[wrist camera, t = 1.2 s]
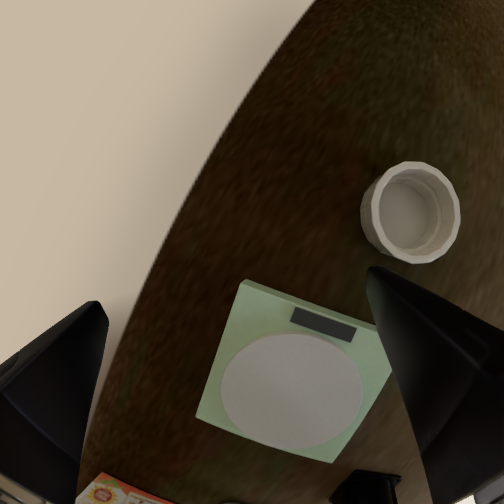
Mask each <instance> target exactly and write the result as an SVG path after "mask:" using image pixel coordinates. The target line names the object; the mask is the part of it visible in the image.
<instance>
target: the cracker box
mask: <svg viewBox="0 0 504 504" xmlns="http://www.w3.org/2000/svg"><path fill="white" fill-rule="evenodd" d="M75 504H175V503H172V502H169V501H167V500H164V499H161V498H159V497H156V496H154V495H151V494H149V493H146V492H144V491H142V490H139V489H137V488H135V487H132V486H130V485H128V484H126V483H124V482H122V481H120V480H118V479H116V478H114V477H112V476H110V475H108V474H106V473H104V472H101V473H100V474H99V475H98V476H97V478H96V479H95V480H94V481H93V482H92V483H91V484H90V485H89V486H88V487H87V488H86V489H85V490H84V491H83V492H82V493H81V494H80V495H79V496H78V497H77V498H76V502H75Z"/></svg>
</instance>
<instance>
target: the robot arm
mask: <svg viewBox="0 0 504 504" xmlns="http://www.w3.org/2000/svg"><path fill="white" fill-rule="evenodd" d="M366 292H367V297H368V300H369V304H370V307H371V311H372V314H373V317H374V321H375V325H376V328H377V332H378V335H379V338H380V340H381V343H382V345H383V348H384V350H385V353H386V355H387V358H388V361H389V363H390V366H391V368H392V371H393V374H394V376H395V379H396V382H397V384H398V387H399V390H400V393H401V395H402V398H403V401H404V404H405V407H406V410H407V413H408V416H409V419H410V422H411V425H412V428H413V431H414V434H415V438H416V441H417V444H418V448H419V451H420V452H421V453H420V455H421V458H422V462H423V466H424V469H425V473H426V477H427V481H428V484H429V488H430V493H431V497H432V501H433V504H455V503H457V502H459V501H461V500H463V499H465V498H467V497H469V496H471V495H474V499H475V503H476V504H504V331H502V330H500V329H498V328H496V327H494V326H492V325H490V324H488V323H486V322H485V321H483V320H481V319H479V318H477V317H476V316H474V315H472V314H470V313H469V312H467V311H465V310H462V309H461V308H460V307H458V306H456V305H454V304H453V303H451V302H449V301H447V300H446V299H444V298H442V297H440V296H438V295H436V294H435V293H433V292H431V291H429V290H427V289H426V288H424V287H422V286H420V285H418V284H416V283H414V282H413V281H411V280H409V279H407V278H405V277H403V276H401V275H399V274H397V273H396V272H394V271H392V270H390V269H388V268H386V267H384V266H382V265H376V266H370V267H369V268H368V271H367V286H366ZM108 327H109V320H108V317H107V315H106V313H105V311H104V310H103V308H102V306H101V304H100V302H98V301H88V302H86V303H85V304H83V305H82V306H81V307H79V308H78V309H76V310H75V311H74V312H72V313H71V314H69V315H68V316H66V317H65V318H63V319H62V320H61V321H59V322H58V323H56V324H55V325H54V326H52V327H51V328H49V329H48V330H47V331H45V332H44V333H42V334H41V335H40V336H38V337H37V338H36V339H34V340H33V341H32V342H30V343H29V344H28V345H26V346H25V347H23V348H22V349H21V350H20V351H18V352H17V353H15V354H14V355H13V356H11V357H10V358H9V359H7V360H6V361H5V362H3V363H2V364H1V365H0V504H46V502H49V503H51V504H75V502H76V492H77V484H78V476H79V468H80V460H81V454H82V448H83V442H84V437H85V432H86V427H87V422H88V417H89V412H90V408H91V403H92V399H93V394H94V390H95V386H96V382H97V378H98V375H99V371H100V367H101V363H102V359H103V354H104V348H105V343H106V337H107V332H108ZM401 480H402V478H401V476H399V475H390V474H382V473H375V472H369V471H362V470H355V471H354V472H353V473H352V474H351V475H350V476H349V477H348V478H347V480H346V481H345V482H344V483H342V484H341V485H340V486H339V487H338V489H337V490H336V491H335V492H334V493H333V494H332V496H331V497H330V498H329V502H330V503H332V504H398V503H397V498H396V493H395V489H394V488H395V487H396V486H397V485H398V483H399V482H400V481H401Z"/></svg>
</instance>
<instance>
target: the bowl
mask: <svg viewBox="0 0 504 504" xmlns="http://www.w3.org/2000/svg"><path fill="white" fill-rule="evenodd" d="M360 216H361V226H362V228H363V231H364V233H365V235H366V237H367V239H368V240H369V242H370V243H371V244H372V245H373V246H374V247H375V248H376V249H377V250H378V251H380V252H381V253H383V254H386V255H388V256H391V257H394V258H397V259H399V260H402V261H405V262H408V263H412V264H416V263H429V262H431V261H433V260H435V259H437V258H438V257H440V256H442V255H444V254H445V253H446V251H447V250H448V249H449V247H450V246H451V245H452V243H453V242H454V241H455V239H456V236H457V232H458V228H459V225H460V207H459V200H458V198H457V195H456V193H455V191H454V188H453V186H452V184H451V183H450V182H449V180H448V179H447V178H446V177H445V176H444V175H443V174H442V173H441V172H440V171H439V170H438V169H436V168H434V167H432V166H430V165H428V164H425V163H423V162H403V163H400V164H398V165H396V166H394V167H392V168H390V169H388V170H387V171H386V172H385V173H383V174H382V175H381V176H380V177H379V178H377V179H376V180H375V181H374V182H373V183H372V184H371V186H370V187H369V188H368V189H367V190H366V191H365V193H364V197H363V200H362V203H361V206H360Z"/></svg>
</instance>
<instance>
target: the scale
mask: <svg viewBox="0 0 504 504" xmlns="http://www.w3.org/2000/svg"><path fill="white" fill-rule="evenodd" d="M391 371H392V368H391V366H390V363H389V361H388V358H387V355H386V353H385V350H384V348H383V345H382V343H381V340H380V338H379V335H378V332H377V328H376V326H375V325H372V324H369V323H366V322H363V321H361V320H358V319H355V318H352V317H349V316H346V315H343V314H341V313H338V312H335V311H332V310H329V309H326V308H324V307H321V306H318V305H315V304H313V303H310V302H307V301H304V300H302V299H299V298H296V297H293V296H291V295H288V294H285V293H282V292H280V291H277V290H274V289H272V288H269V287H266V286H264V285H261V284H258V283H256V282H253V281H250V280H248V279H246V280H244V281H243V282H241V283H240V286H239V289H238V291H237V294H236V297H235V300H234V303H233V306H232V309H231V312H230V315H229V318H228V321H227V324H226V327H225V330H224V333H223V336H222V339H221V342H220V345H219V348H218V351H217V354H216V357H215V360H214V363H213V366H212V369H211V371H210V374H209V377H208V380H207V383H206V386H205V389H204V392H203V395H202V398H201V401H200V404H199V407H198V410H197V413H196V417H197V418H199V419H201V420H203V421H205V422H208V423H210V424H212V425H215V426H217V427H219V428H222V429H224V430H227V431H229V432H232V433H234V434H237V435H240V436H242V437H245V438H248V439H250V440H253V441H256V442H259V443H261V444H264V445H267V446H271V447H274V448H277V449H280V450H283V451H287V452H290V453H294V454H297V455H301V456H304V457H308V458H312V459H316V460H320V461H324V462H328V463H333V461H334V460H335V459H336V457H337V456H338V455H339V453H340V452H341V451H342V449H343V448H344V447H345V445H346V444H347V442H348V441H349V440H350V438H351V437H352V435H353V434H354V432H355V431H356V429H357V428H358V426H359V425H360V423H361V422H362V420H363V419H364V417H365V416H366V414H367V412H368V411H369V409H370V408H371V406H372V404H373V403H374V401H375V399H376V398H377V396H378V394H379V393H380V391H381V389H382V387H383V386H384V384H385V382H386V380H387V379H388V377H389V375H390V373H391Z"/></svg>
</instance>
